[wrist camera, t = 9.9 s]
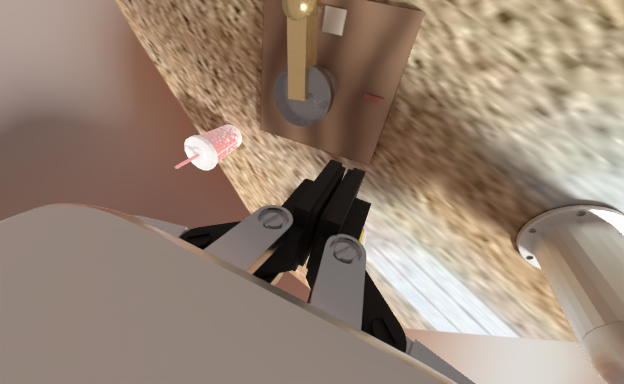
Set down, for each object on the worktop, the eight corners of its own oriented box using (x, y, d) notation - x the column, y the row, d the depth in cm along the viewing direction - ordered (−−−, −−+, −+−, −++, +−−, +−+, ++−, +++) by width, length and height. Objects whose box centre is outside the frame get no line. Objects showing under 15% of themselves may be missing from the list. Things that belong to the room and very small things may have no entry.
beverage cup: (216, 117, 46) (154, 144, 35) (244, 123, 44) (187, 154, 34) (220, 146, 49) (165, 179, 39) (246, 153, 48) (196, 189, 37)
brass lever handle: (280, -11, 25) (260, -17, 22) (344, -10, 23) (332, -17, 20) (283, 116, 32) (269, 125, 29) (331, 124, 30) (321, 135, 27)
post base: (424, 12, 27) (426, 8, 22) (370, 161, 40) (362, 182, 34) (270, -18, 31) (238, -28, 26) (264, 126, 43) (241, 140, 38)
